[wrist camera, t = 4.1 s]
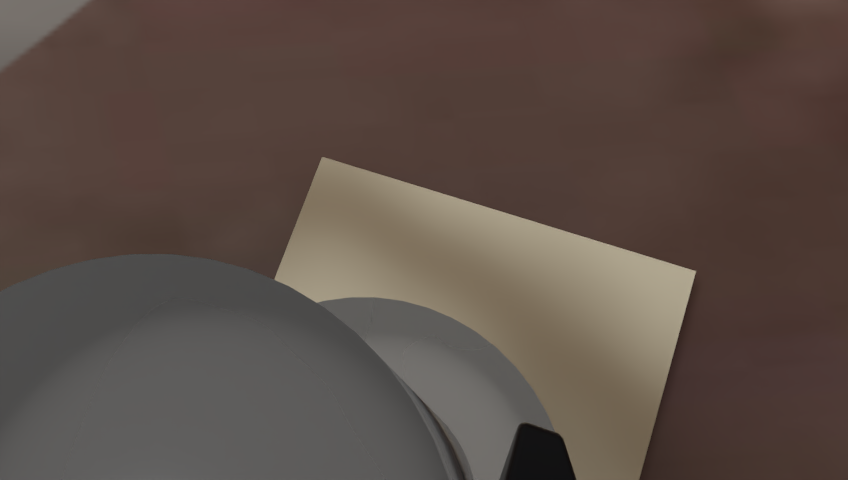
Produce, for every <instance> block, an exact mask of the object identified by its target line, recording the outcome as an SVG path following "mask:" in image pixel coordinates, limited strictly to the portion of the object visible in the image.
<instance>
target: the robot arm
mask: <svg viewBox="0 0 848 480" xmlns="http://www.w3.org/2000/svg"><path fill="white" fill-rule="evenodd" d="M499 480H576V476H575V473H574V470H573V467H572V464H571V461H570V458H569V455H568V451H567V448H566V445H565V442H564V440H563V438H562V436H561V435H560V434H558V433H556V432H554V431H551V430H548V429H545V428H542V427H539V426H536V425H533V424H530V423H527V422H523V423H521V424H519V425H518V427H517V429H516V432H515V435H514V438H513V441H512V444H511V447H510V450H509V453H508V456H507V458H506V461H505V464H504V467H503V470H502V473H501V476H500V479H499Z"/></svg>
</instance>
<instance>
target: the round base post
mask: <svg viewBox="0 0 848 480" xmlns="http://www.w3.org/2000/svg"><path fill="white" fill-rule="evenodd" d="M523 422H527V423H530V424H533V425H536V426H539V427H542V428H545V429H548V430H551V431H554V432H555V430H554V428H553V426H552V423H551V421H550V419H549V416H548V414H547V412H546V410H545V409H544V407H543V405H542V404H541V402H540V400H539V398H538V397H537V395H536V393H535V392H534V390H533V388H532V387H531V386H530V384H529V383H528V382H527V381H526V379H525V378H524V377H523V375H522V374H521V373H520V372H519V370H518V369H517V368H516V366H515V365H514V364H512V363H511V362H510V361H509V360H508V359H507V358H506V357H505V356H504V355H503V354H502V353H501V352H500V351H499V350H498V349H497V348H496V347H495V346H494V345H493V344H491V343H490V342H489V341H487V340H486V339H485V338H483V337H482V336H481V335H479V334H478V333H477V332H476V331H474V330H472V329H471V328H469V327H467V326H465V325H464V324H462V323H460V322H458V321H457V320H455V319H453V318H451V317H449V316H447V315H444V314H442V313H439V312H437V311H435V310H432V309H430V308H427V307H423V306H420V305H416V304H412V303H409V302H405V301H400V300H392V299H385V298H377V297H350V298H342V299H334V300H326V301H322V302H318V303H316V302H315V301H313V300H311V299H310V298H308V297H306V296H305V295H303V294H301V293H299V292H298V291H296V290H294V289H293V288H291V287H289V286H287V285H285V284H283V283H280V282H278V281H276V280H273V279H271V278H269V277H266V276H264V275H261V274H259V273H257V272H254V271H252V270H249V269H245V268H242V267H238V266H234V265H231V264H227V263H223V262H219V261H216V260H212V259H205V258H197V257H189V256H182V255H174V254H130V255H122V256H115V257H107V258H100V259H92V260H88V261H84V262H80V263H76V264H72V265H68V266H65V267H61V268H57V269H53V270H50V271H47V272H45V273H42V274H40V275H37V276H35V277H32V278H30V279H27V280H25V281H22V282H20V283H17V284H14V285H12V286H10V287H8V288H6V289H4V290H3V291H1V292H0V480H499V479H500V476H501V473H502V470H503V467H504V464H505V461H506V458H507V456H508V453H509V450H510V447H511V444H512V441H513V438H514V435H515V432H516V429H517V427H518V425H519V424H521V423H523Z"/></svg>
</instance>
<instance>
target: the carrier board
mask: <svg viewBox="0 0 848 480" xmlns="http://www.w3.org/2000/svg"><path fill="white" fill-rule="evenodd" d="M695 273H696V271H693V270H690V269H687V268H683V267H680V266H677V265H674V264H670V263H667V262H664V261H661V260H657V259H654V258H651V257H648V256H644V255H641V254H638V253H635V252H631V251H628V250H625V249H621V248H618V247H615V246H612V245H608V244H605V243H602V242H599V241H595V240H592V239H589V238H586V237H582V236H579V235H576V234H572V233H569V232H566V231H563V230H559V229H556V228H553V227H550V226H546V225H543V224H540V223H537V222H533V221H530V220H527V219H523V218H520V217H517V216H514V215H510V214H507V213H504V212H501V211H497V210H494V209H491V208H488V207H484V206H481V205H478V204H475V203H471V202H468V201H465V200H461V199H458V198H455V197H452V196H448V195H445V194H442V193H439V192H435V191H432V190H429V189H426V188H422V187H419V186H416V185H412V184H409V183H406V182H403V181H399V180H396V179H393V178H390V177H386V176H383V175H380V174H377V173H373V172H370V171H367V170H363V169H360V168H357V167H354V166H350V165H347V164H344V163H341V162H337V161H334V160H331V159H328V158H324V157H322V159H321V161H320V164H319V166H318V169H317V172H316V174H315V177H314V179H313V182H312V184H311V187H310V189H309V192H308V195H307V197H306V200H305V202H304V205H303V207H302V210H301V213H300V215H299V218H298V220H297V223H296V225H295V228H294V230H293V233H292V236H291V238H290V241H289V243H288V246H287V248H286V251H285V254H284V256H283V259H282V261H281V264H280V266H279V269H278V271H277V274H276V277H275V279H274V280H276V281H278V282H280V283H283V284H285V285H287V286H289V287H291V288H293V289H294V290H296V291H298V292H299V293H301V294H303V295H305V296H306V297H308V298H310V299H311V300H313V301H315V302H316V303H318V302H322V301H326V300H334V299H342V298H350V297H377V298H385V299H392V300H400V301H405V302H409V303H412V304H416V305H420V306H423V307H427V308H430V309H432V310H435V311H437V312H439V313H442V314H444V315H447V316H449V317H451V318H453V319H455V320H457V321H458V322H460V323H462V324H464V325H465V326H467V327H469V328H471V329H472V330H474V331H476V332H477V333H478V334H479V335H481V336H482V337H483V338H485V339H486V340H487V341H489V342H490V343H491V344H493V345H494V346H495V347H496V348H497V349H498V350H499V351H500V352H501V353H502V354H503V355H504V356H505V357H506V358H507V359H508V360H509V361H510V362H511V363H512V364H514V365H515V366H516V368H517V369H518V370H519V372H520V373H521V374H522V375H523V377H524V378H525V379H526V381H527V382H528V383H529V384H530V386H531V387H532V388H533V390H534V392H535V393H536V395H537V397H538V398H539V400H540V402H541V404H542V405H543V407H544V409H545V410H546V412H547V414H548V416H549V419H550V421H551V423H552V426H553V428H554V430H555V432H556V433H558V434H560V435H561V436H562V438H563V440H564V442H565V445H566V448H567V451H568V455H569V458H570V461H571V464H572V467H573V470H574V473H575V476H576V480H639V478H640V474H641V471H642V467H643V464H644V460H645V456H646V453H647V449H648V445H649V442H650V438H651V434H652V431H653V427H654V423H655V420H656V416H657V412H658V409H659V405H660V401H661V398H662V394H663V390H664V387H665V383H666V379H667V376H668V372H669V368H670V365H671V361H672V357H673V354H674V350H675V346H676V343H677V339H678V335H679V332H680V328H681V324H682V321H683V317H684V313H685V310H686V306H687V302H688V299H689V295H690V291H691V288H692V284H693V280H694V277H695Z"/></svg>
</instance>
